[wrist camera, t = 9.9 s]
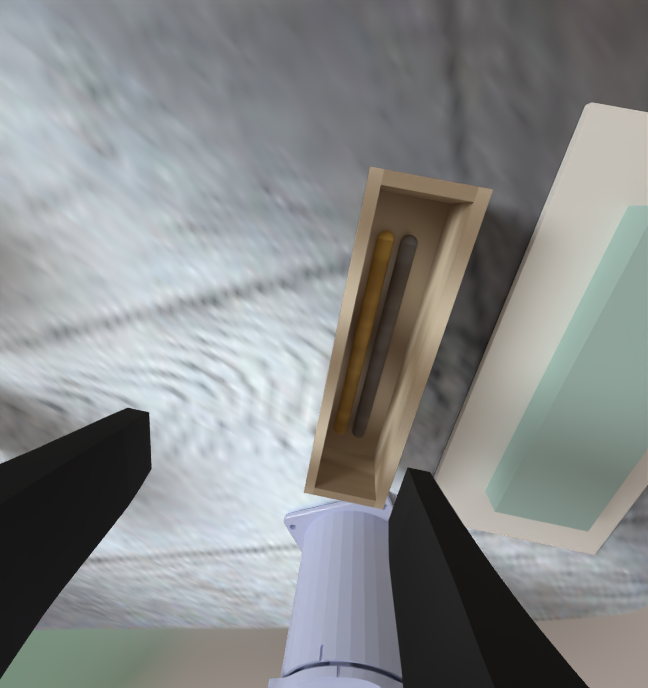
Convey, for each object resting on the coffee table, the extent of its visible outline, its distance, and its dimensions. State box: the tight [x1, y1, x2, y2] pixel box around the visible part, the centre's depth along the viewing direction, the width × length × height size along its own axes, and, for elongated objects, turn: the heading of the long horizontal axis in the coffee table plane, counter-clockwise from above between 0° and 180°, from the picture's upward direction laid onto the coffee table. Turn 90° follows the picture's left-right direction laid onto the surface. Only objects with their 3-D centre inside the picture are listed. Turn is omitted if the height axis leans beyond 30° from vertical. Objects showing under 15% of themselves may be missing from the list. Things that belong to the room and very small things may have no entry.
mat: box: [434, 103, 648, 555], centre depth 18 cm, size 24×12×1 cm, turn 170°
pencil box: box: [304, 167, 493, 509], centre depth 17 cm, size 16×4×4 cm, turn 170°
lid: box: [485, 205, 648, 532], centre depth 17 cm, size 17×6×2 cm, turn 170°
